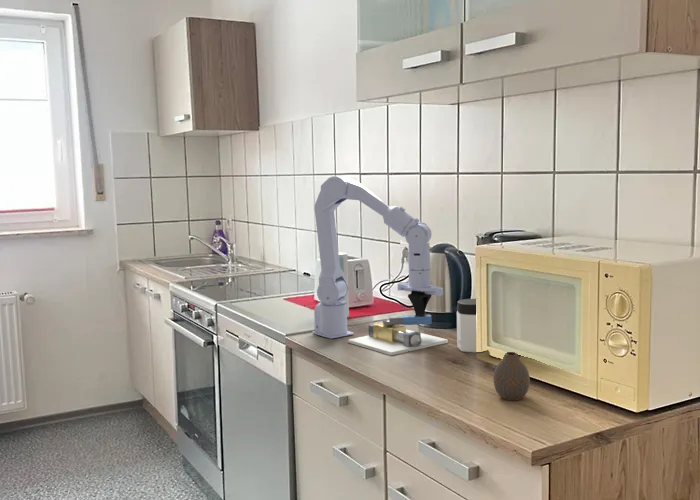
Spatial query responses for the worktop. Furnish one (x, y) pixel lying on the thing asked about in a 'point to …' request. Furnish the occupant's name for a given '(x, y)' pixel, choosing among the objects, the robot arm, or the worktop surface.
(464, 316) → the jar
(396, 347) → the board
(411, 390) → the worktop surface
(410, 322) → the lever
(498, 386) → the vase
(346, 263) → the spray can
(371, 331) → the valve
